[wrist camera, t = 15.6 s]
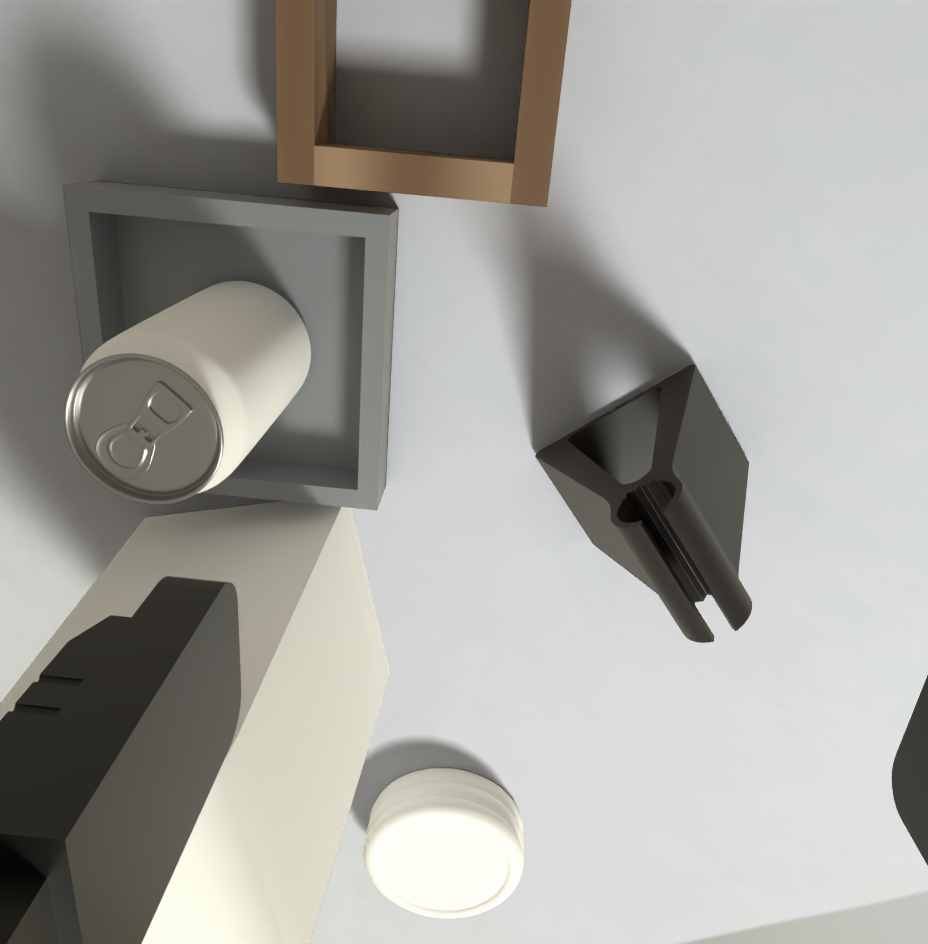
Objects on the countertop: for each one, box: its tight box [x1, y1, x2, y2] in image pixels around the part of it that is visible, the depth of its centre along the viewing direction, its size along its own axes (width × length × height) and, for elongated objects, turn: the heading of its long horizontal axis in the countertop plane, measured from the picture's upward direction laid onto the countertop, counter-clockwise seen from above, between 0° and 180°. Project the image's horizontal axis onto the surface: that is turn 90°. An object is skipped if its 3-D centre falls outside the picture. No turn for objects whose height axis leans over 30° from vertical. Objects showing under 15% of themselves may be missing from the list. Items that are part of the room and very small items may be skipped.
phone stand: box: [535, 365, 752, 643], centre depth 35 cm, size 9×6×12 cm, turn 123°
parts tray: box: [63, 181, 399, 510], centre depth 37 cm, size 14×14×3 cm
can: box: [64, 281, 311, 504], centre depth 33 cm, size 6×6×12 cm
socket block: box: [275, 0, 571, 207], centre depth 31 cm, size 11×11×4 cm
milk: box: [0, 501, 390, 944], centre depth 33 cm, size 12×12×26 cm
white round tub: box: [363, 768, 524, 918], centre depth 50 cm, size 10×10×4 cm
